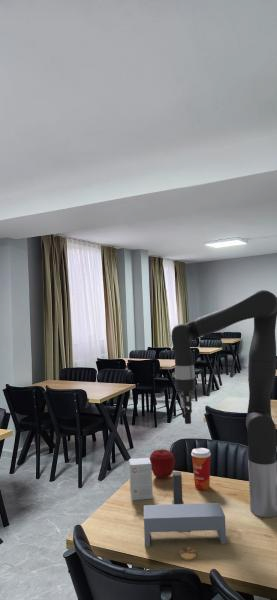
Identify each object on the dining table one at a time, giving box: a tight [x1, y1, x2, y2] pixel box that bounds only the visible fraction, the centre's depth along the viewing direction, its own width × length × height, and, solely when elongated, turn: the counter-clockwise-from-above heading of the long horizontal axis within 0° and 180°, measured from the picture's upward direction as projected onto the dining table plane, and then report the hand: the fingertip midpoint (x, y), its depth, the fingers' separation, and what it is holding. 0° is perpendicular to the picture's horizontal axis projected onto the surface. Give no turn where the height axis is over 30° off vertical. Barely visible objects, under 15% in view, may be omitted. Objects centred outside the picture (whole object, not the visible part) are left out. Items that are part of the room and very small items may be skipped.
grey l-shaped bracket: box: [171, 471, 185, 504], centre depth 130 cm, size 4×18×11 cm, turn 0°
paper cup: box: [190, 447, 212, 491], centre depth 152 cm, size 8×8×14 cm
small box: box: [128, 457, 154, 501], centre depth 146 cm, size 8×6×13 cm
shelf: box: [143, 502, 227, 547], centre depth 117 cm, size 24×8×8 cm, turn 90°
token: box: [179, 546, 197, 561], centre depth 109 cm, size 4×4×1 cm
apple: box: [149, 448, 176, 480], centre depth 162 cm, size 11×11×12 cm
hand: (186, 420), depth 144 cm, fingers open, 8 cm apart
